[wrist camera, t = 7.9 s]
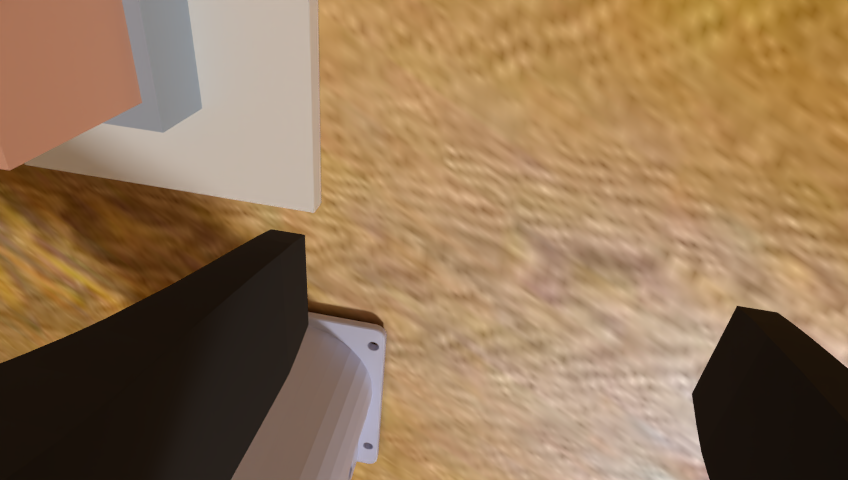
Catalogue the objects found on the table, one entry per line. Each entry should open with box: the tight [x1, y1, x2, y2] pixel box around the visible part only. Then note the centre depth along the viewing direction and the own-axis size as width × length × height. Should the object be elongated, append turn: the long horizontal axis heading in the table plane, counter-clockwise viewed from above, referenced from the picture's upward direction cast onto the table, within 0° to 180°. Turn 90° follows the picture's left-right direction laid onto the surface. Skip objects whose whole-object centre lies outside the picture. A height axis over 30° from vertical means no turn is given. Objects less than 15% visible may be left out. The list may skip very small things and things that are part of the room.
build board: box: [24, 0, 321, 213], centre depth 18 cm, size 11×12×1 cm
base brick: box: [103, 0, 202, 133], centre depth 17 cm, size 6×6×2 cm
